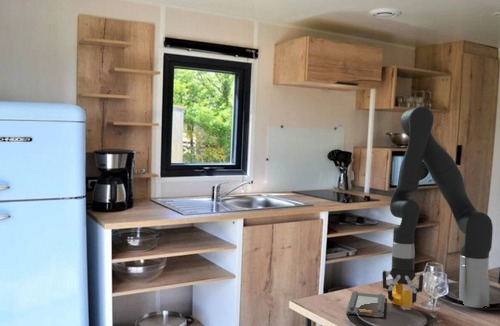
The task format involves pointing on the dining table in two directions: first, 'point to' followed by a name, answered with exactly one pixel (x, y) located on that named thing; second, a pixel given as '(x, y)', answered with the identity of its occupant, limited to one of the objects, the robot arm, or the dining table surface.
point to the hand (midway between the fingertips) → (401, 301)
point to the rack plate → (364, 301)
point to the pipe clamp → (401, 296)
